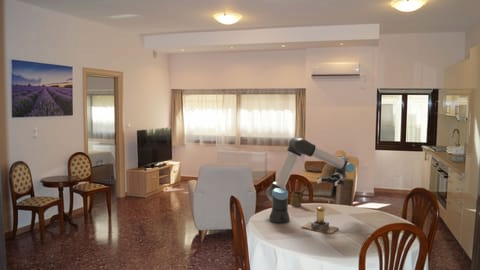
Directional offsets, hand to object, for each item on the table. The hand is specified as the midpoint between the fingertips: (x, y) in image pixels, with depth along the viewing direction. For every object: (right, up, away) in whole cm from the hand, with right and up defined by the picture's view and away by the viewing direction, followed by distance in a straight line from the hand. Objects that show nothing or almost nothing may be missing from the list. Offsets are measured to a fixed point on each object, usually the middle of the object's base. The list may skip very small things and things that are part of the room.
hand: (326, 182), depth 288 cm
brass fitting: (-7, -30, -11) cm, 33 cm away
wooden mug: (-13, -26, +53) cm, 60 cm away
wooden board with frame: (-7, -31, -11) cm, 33 cm away
